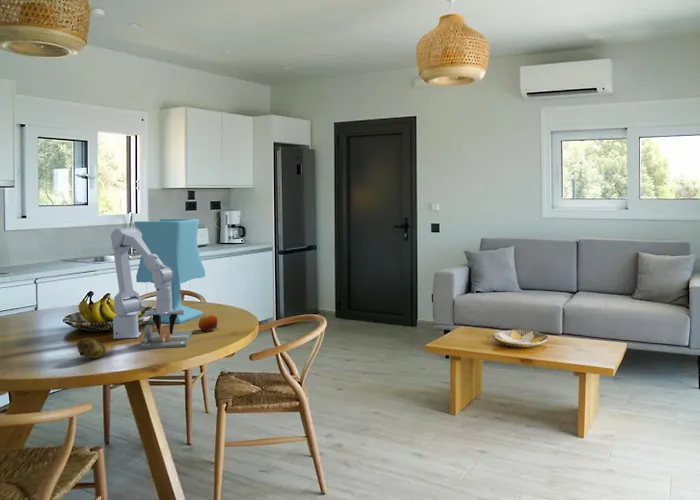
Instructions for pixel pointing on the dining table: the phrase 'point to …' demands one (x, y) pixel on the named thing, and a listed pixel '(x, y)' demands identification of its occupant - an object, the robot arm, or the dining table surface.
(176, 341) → the board
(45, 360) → the dining table surface
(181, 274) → the lamp with square shade
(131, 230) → the robot arm
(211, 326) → the fruit
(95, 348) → the potato
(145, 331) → the fixed leg
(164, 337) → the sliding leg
